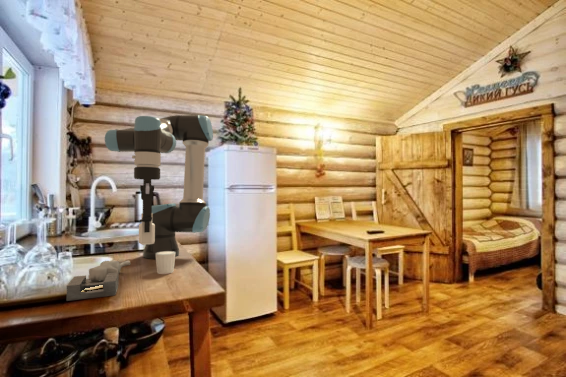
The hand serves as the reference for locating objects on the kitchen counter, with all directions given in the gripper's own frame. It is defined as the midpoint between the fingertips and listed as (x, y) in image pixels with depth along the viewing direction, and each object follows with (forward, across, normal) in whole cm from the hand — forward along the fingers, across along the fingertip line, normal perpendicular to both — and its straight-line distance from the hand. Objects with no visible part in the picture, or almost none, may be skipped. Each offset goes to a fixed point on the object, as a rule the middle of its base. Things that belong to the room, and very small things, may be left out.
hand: (146, 241), depth 96 cm
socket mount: (+14, +2, -14) cm, 19 cm away
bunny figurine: (+14, -16, -12) cm, 24 cm away
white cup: (+14, -14, +6) cm, 21 cm away
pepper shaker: (+1, 0, 0) cm, 1 cm away
